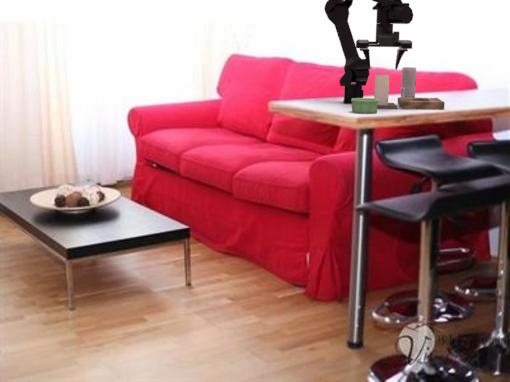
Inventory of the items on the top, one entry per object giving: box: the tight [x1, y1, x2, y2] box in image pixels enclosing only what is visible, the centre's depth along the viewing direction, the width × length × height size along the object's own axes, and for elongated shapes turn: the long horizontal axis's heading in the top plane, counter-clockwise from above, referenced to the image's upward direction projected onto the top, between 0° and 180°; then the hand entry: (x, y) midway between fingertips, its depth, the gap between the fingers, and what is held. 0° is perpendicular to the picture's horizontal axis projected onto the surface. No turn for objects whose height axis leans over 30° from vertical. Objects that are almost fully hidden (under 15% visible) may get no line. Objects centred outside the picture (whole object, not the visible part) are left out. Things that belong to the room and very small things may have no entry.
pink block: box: [373, 74, 390, 105], centre depth 266 cm, size 4×4×10 cm
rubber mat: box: [377, 102, 398, 110], centre depth 267 cm, size 10×10×1 cm
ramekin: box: [351, 97, 379, 115], centre depth 253 cm, size 9×9×4 cm
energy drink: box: [400, 66, 417, 98], centre depth 291 cm, size 5×5×12 cm
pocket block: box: [397, 96, 446, 111], centre depth 268 cm, size 14×14×2 cm
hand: (382, 69), depth 265 cm, fingers open, 9 cm apart
